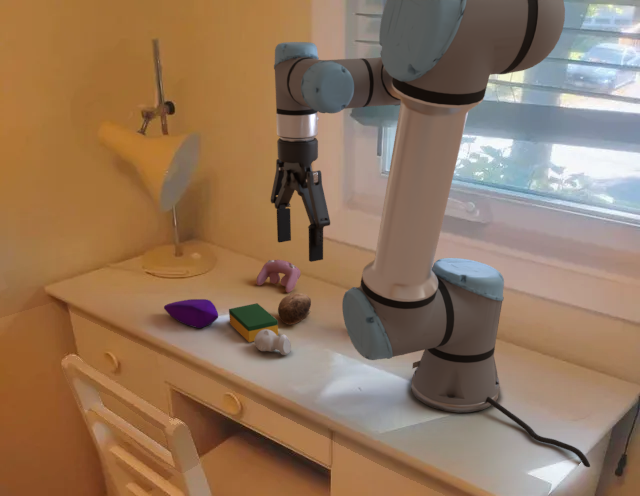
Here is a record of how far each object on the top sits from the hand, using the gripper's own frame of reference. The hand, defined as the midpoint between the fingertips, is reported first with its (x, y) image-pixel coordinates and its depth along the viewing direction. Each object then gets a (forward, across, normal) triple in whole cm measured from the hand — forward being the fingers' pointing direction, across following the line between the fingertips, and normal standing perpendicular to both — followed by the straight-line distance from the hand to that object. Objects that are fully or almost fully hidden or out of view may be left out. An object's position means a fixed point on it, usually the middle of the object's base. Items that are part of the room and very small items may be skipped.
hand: (299, 250), depth 142 cm
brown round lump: (+16, +1, +1) cm, 16 cm away
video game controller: (+15, +20, -5) cm, 26 cm away
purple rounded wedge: (+16, +12, +20) cm, 28 cm away
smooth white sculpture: (+16, -9, +11) cm, 22 cm away
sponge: (+16, +2, +10) cm, 19 cm away
